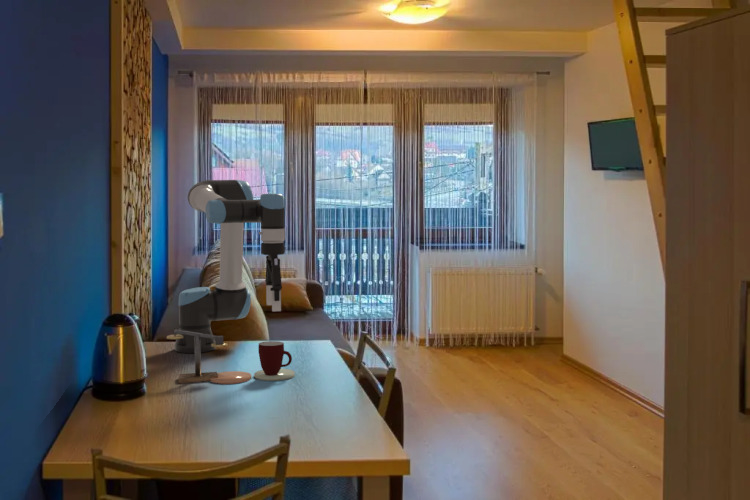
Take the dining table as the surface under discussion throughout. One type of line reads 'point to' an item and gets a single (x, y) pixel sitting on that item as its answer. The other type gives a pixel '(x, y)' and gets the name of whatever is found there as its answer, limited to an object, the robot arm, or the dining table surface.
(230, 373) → the dish terracotta
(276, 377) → the dish sage
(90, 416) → the dining table surface
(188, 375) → the balance
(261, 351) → the mug
